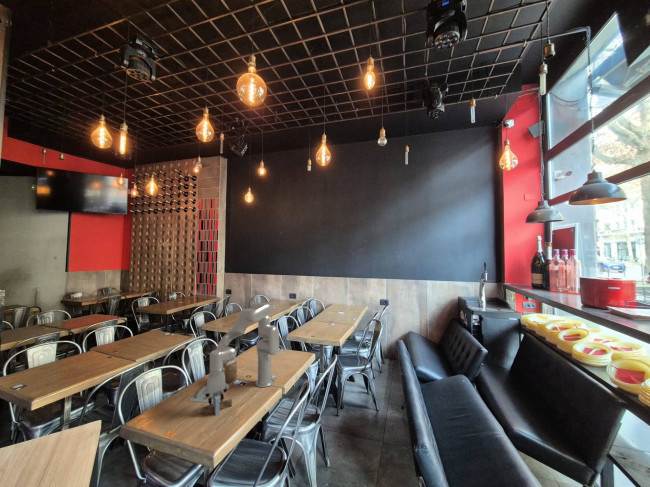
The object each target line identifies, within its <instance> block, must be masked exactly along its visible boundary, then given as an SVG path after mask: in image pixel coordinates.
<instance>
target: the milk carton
mask: <svg viewBox="0 0 650 487" xmlns="http://www.w3.org/2000/svg"><path fill="white" fill-rule="evenodd" d="M223 368H225V369H226V370H224V371H223V372H224V375H225V383H227V384H228V385H230V384H232V383H234V382H235V381H237V380H238V379H237V378H238V377H237V376H238V374H237V372H238V370H237V369H238V361H237V360H236V359H235V358H234V359H232V360H229V361H224V362H223Z"/></svg>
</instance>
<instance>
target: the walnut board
mask: <svg viewBox="0 0 650 487" xmlns="http://www.w3.org/2000/svg"><path fill="white" fill-rule="evenodd" d="M232 403H233V400H232V398H230V399H226V400H223V402H221V401H220V411H221V410H224V409H228V408H232V407H233V406H232V405H233V404H232ZM198 413H199V414H198V415H199V417H201V416H205V415H208V414H211V413H215V406H214V407H213V403H211V405H210V404H208V405H205V406H202V407H199V412H198Z"/></svg>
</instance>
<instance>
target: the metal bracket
mask: <svg viewBox="0 0 650 487" xmlns="http://www.w3.org/2000/svg"><path fill="white" fill-rule="evenodd" d="M206 387H207V386H205V385H204V386H202V387H201V389H200V390H199V391H198V392H197V393H196V395H195V396H191V397H190V399H189V400H188V402H195V403H204V404H209V403H208V397H206V396H205V395H203V393H202V392H203V391H204V390H205V389H206ZM206 393H208V391H206ZM208 394H209V393H208ZM211 398H213V393H212V395H211Z"/></svg>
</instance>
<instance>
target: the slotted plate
mask: <svg viewBox="0 0 650 487" xmlns="http://www.w3.org/2000/svg"><path fill="white" fill-rule="evenodd" d="M220 402H221V397H220V395H219V393H218V392H214V393H213V395H212V404H213V407H214V406H215V412H214V415H215V416H218V415H221V414H220V412H221V410H220Z"/></svg>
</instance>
